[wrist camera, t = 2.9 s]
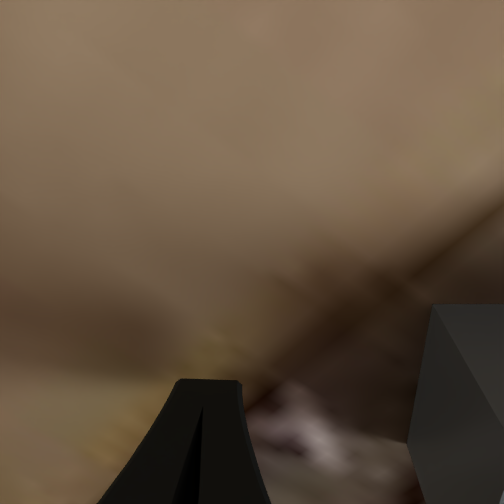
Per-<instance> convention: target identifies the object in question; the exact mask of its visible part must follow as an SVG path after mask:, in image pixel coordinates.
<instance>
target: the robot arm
mask: <svg viewBox="0 0 504 504" xmlns="http://www.w3.org/2000/svg"><path fill="white" fill-rule="evenodd" d="M97 504H271V502H270V499H269V496H268V494H267V491H266V488H265V485H264V482H263V479H262V477H261V474H260V470H259V467H258V464H257V461H256V457H255V454H254V451H253V447H252V444H251V440H250V436H249V432H248V428H247V423H246V418H245V413H244V407H243V398H242V384H241V383H239V382H238V381H237V380H210V379H182V378H181V379H180V380H178V381H177V382H176V383H175V385H174V387H173V389H172V391H171V393H170V395H169V397H168V399H167V401H166V403H165V404H164V406H163V408H162V410H161V411H160V413H159V415H158V416H157V418H156V420H155V421H154V423H153V425H152V426H151V428H150V430H149V431H148V433H147V434H146V436H145V437H144V439H143V440H142V442H141V443H140V445H139V446H138V448H137V449H136V451H135V452H134V454H133V455H132V457H131V458H130V460H129V461H128V463H127V464H126V465H125V467H124V468H123V470H122V471H121V472H120V474H119V475H118V476H117V478H116V479H115V480H114V482H113V483H112V484H111V486H110V487H109V488H108V490H107V491H106V492H105V494H104V495H103V497H102V498H101V499H100V500H99V502H98V503H97Z"/></svg>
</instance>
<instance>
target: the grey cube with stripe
mask: <svg viewBox="0 0 504 504" xmlns="http://www.w3.org/2000/svg"><path fill="white" fill-rule="evenodd" d="M407 447H408V450H409V453H410V456H411V459H412V462H413V465H414V468H415V471H416V474H417V477H418V480H419V483H420V486H421V489H422V492H423V496H424V499H425V502H426V504H504V304H432V310H431V315H430V320H429V326H428V331H427V337H426V342H425V347H424V353H423V358H422V364H421V369H420V374H419V380H418V385H417V391H416V396H415V401H414V407H413V412H412V418H411V423H410V428H409V434H408V439H407Z"/></svg>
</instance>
